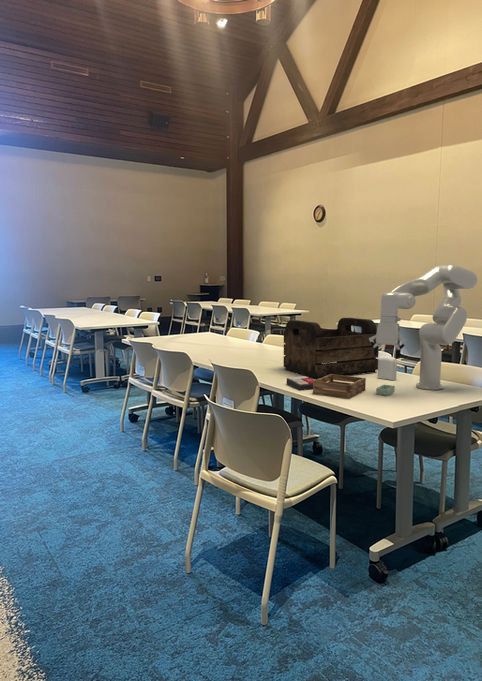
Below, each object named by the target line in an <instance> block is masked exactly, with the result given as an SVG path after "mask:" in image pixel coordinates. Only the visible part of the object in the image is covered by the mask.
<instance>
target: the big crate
mask: <svg viewBox="0 0 482 681" xmlns="http://www.w3.org/2000/svg"><path fill="white" fill-rule="evenodd" d="M313 380H314V381H313V390H312V394H313V395H320V396H327V397H334V398H340V399H347V400H349V399H351V398H353V397H356V396H358V395H359V394H362V393H363V392H365V391H366V385H367V384H366V382H367V381H366V380H367V379H366V377H359V376H353V375H348V376H343V375H335V374H330V375H327V376H325V377H322V378H320V379H313Z"/></svg>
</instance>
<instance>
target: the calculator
mask: <svg viewBox="0 0 482 681" xmlns="http://www.w3.org/2000/svg"><path fill="white" fill-rule="evenodd" d="M314 380H315V379H312V378H309V377H306V376H303V375H301V376H291V377H286V385H287V386H288V387H291V388H293V389H295V390H297V391H299V392H301V391H308V390H309V391H310V390H312V391H313V381H314Z"/></svg>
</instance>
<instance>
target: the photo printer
mask: <svg viewBox="0 0 482 681" xmlns="http://www.w3.org/2000/svg"><path fill="white" fill-rule="evenodd" d="M377 359H378V370H377V378H378V379H381V380H382V379H383V380H389V381H396V380H397V370H398V368H397V367H398V366H397V365H398V362H397V361H398V360H397V358H396V357H394V356H390V355H383V356H378V358H377Z"/></svg>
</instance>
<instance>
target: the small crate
mask: <svg viewBox="0 0 482 681" xmlns="http://www.w3.org/2000/svg"><path fill="white" fill-rule="evenodd" d="M395 391H396V390H395V385H392V384H391V385H389V384H382V385H380V386H378V387H377V388H376V389H375V396H382V397H383V396H384V397H389V396H390V395H392V394H394V393H395Z"/></svg>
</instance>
